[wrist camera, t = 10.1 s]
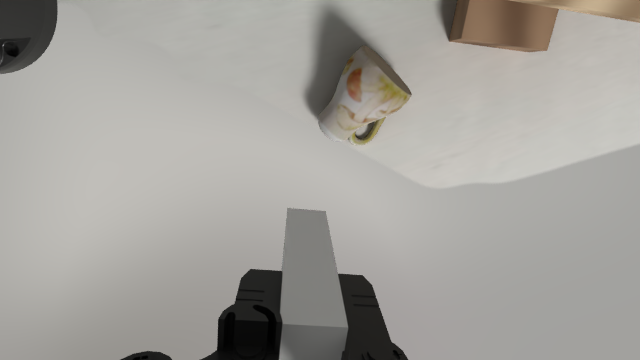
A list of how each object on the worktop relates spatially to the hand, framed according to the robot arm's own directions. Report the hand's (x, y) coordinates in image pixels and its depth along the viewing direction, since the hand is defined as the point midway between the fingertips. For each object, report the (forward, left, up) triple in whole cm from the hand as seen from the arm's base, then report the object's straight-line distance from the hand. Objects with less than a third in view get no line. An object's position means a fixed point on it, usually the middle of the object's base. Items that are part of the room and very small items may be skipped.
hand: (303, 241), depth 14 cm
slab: (+19, +17, -28) cm, 38 cm away
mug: (+6, +4, -28) cm, 29 cm away
